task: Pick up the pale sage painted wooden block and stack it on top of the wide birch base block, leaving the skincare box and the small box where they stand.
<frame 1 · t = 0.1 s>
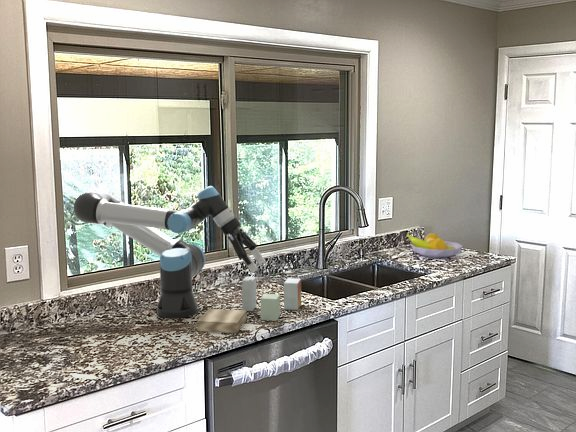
hand: (259, 267, 236), 15 cm above the worktop, tool tilted 35°, fingers open, 13 cm apart
birch block: (222, 326, 215), on the worktop
skincare box: (249, 309, 233), on the worktop
sage block: (270, 317, 223), on the worktop
small box: (292, 307, 236), on the worktop
fruit bowl: (433, 255, 326), on the worktop
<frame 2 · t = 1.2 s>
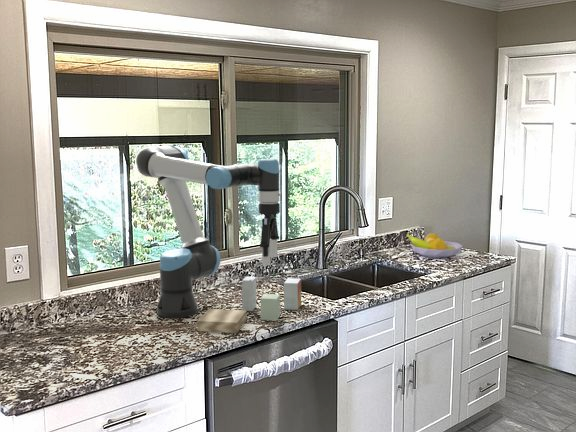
hand: (270, 261, 220), 21 cm above the worktop, tool pointing down, fingers open, 13 cm apart
nothing on the worktop moved.
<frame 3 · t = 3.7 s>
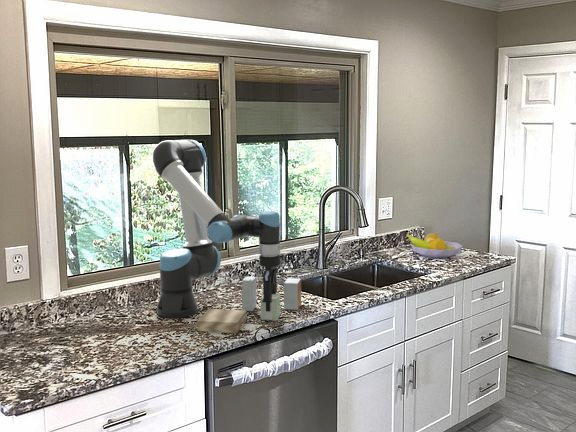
hand: (270, 316, 223), 0 cm above the worktop, tool pointing down, fingers closed on sage block, 6 cm apart
sage block: (270, 317, 223), on the worktop, touching gripper
everything else where it was.
when the fingers open (6 cm above the worktop, at t = 10.0 s): sage block drops 2 cm, point 3 cm above the worktop.
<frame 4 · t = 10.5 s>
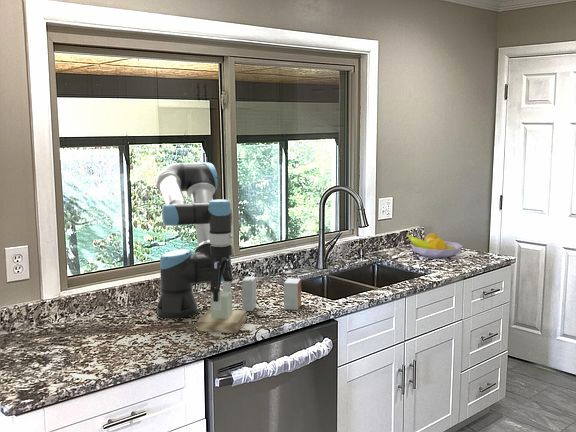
hand: (222, 304, 214), 8 cm above the worktop, tool pointing down, fingers open, 12 cm apart
sage block: (221, 315, 214), point 3 cm above the worktop
everything else where it was.
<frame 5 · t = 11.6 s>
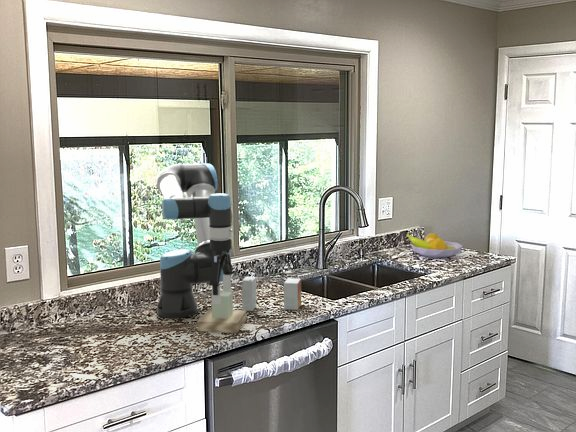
hand: (221, 298, 213), 10 cm above the worktop, tool pointing down, fingers open, 13 cm apart
birch block: (222, 326, 215), on the worktop, touching sage block
sage block: (222, 315, 214), point 3 cm above the worktop, touching birch block
everything else where it was.
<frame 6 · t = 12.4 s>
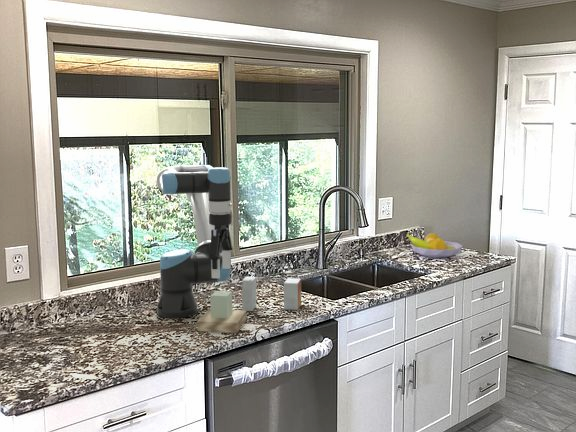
hand: (221, 273, 212), 19 cm above the worktop, tool pointing down, fingers open, 13 cm apart
nothing on the worktop moved.
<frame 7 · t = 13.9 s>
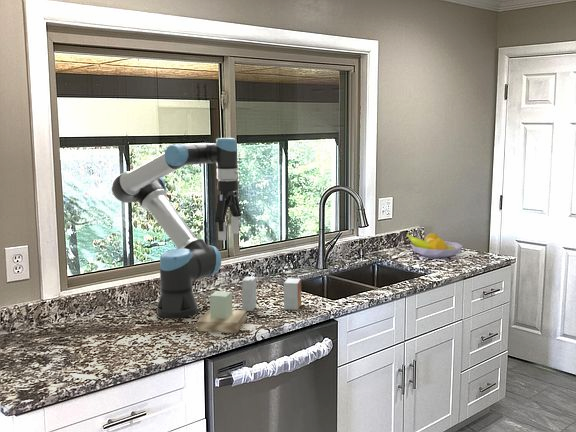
hand: (228, 236, 228), 28 cm above the worktop, tool pointing down, fingers open, 13 cm apart
birch block: (222, 326, 215), on the worktop
sage block: (221, 315, 214), point 3 cm above the worktop
everything else where it was.
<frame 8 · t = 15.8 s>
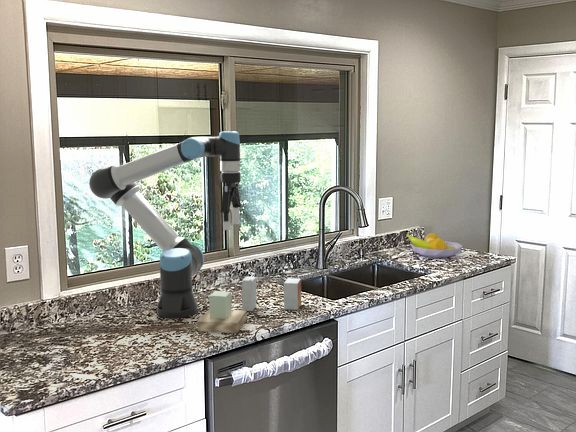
hand: (231, 226, 236), 31 cm above the worktop, tool pointing down, fingers open, 13 cm apart
nothing on the worktop moved.
at the end: sage block inside the target area on the birch block (0.7 cm from its centre), point 4.0 cm above the birch block's base; sage block tilted 0°; the gripper is holding nothing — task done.
